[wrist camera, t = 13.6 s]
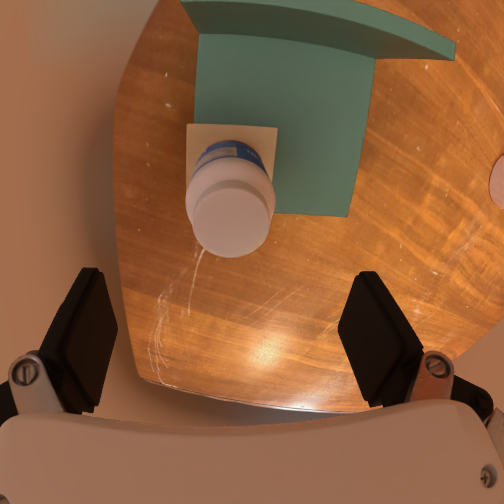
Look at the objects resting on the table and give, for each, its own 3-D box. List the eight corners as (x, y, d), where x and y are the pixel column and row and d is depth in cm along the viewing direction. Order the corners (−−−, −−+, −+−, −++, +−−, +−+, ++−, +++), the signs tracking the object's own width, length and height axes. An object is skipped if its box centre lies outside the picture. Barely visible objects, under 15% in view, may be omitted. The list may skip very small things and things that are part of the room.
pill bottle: (271, 188, 24) (297, 252, 16) (211, 210, 25) (206, 283, 17) (249, 127, 21) (265, 160, 13) (184, 152, 22) (160, 201, 14)
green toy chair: (191, 193, 28) (169, 285, 17) (198, 28, 20) (170, -20, 8) (333, 200, 30) (395, 285, 18) (357, 49, 21) (456, 43, 10)
